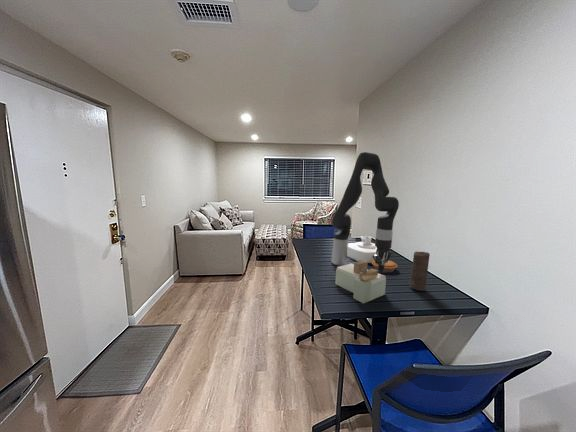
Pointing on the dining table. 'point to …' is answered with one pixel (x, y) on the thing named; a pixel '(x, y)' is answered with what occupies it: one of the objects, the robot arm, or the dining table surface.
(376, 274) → the tan tapered bar
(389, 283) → the dining table surface
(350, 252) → the white knobbed disc
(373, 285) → the light green open box
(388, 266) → the pie
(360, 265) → the lid
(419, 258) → the candle
